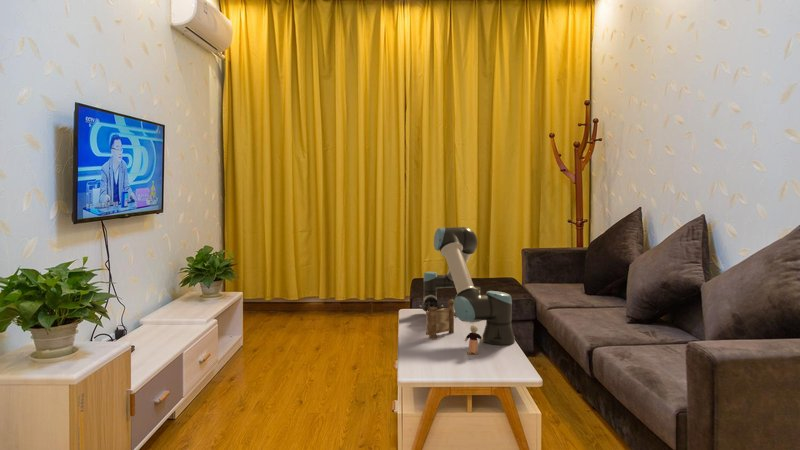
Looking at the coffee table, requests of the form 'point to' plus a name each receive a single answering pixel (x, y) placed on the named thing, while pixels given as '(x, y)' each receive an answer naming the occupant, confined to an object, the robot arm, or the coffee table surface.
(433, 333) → the latch post
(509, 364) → the coffee table surface
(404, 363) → the coffee table surface
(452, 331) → the hinge post
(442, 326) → the gate
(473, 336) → the grandmother figurine
